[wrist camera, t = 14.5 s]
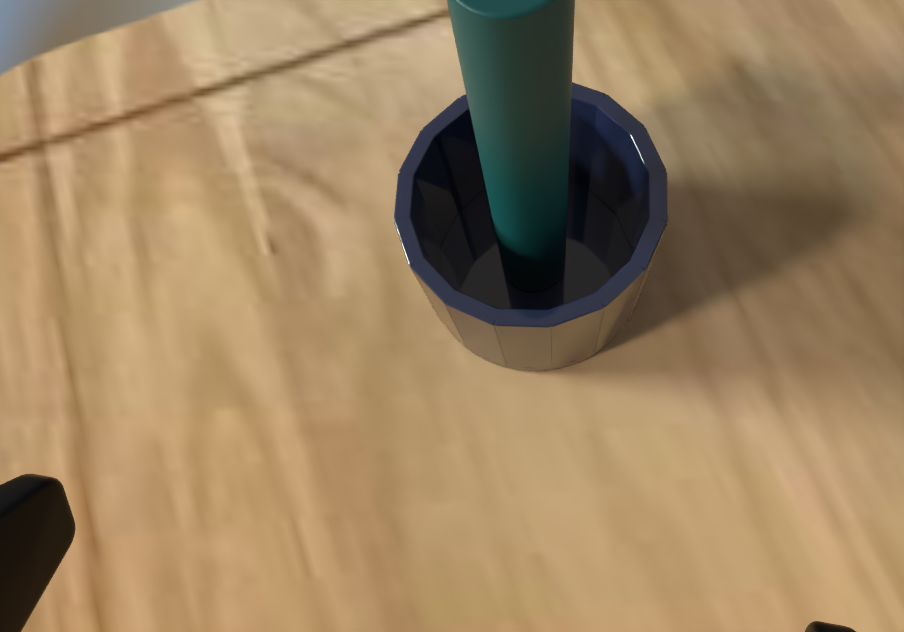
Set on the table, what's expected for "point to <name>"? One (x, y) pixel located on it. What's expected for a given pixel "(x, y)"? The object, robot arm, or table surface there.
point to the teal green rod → (521, 125)
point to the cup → (587, 237)
